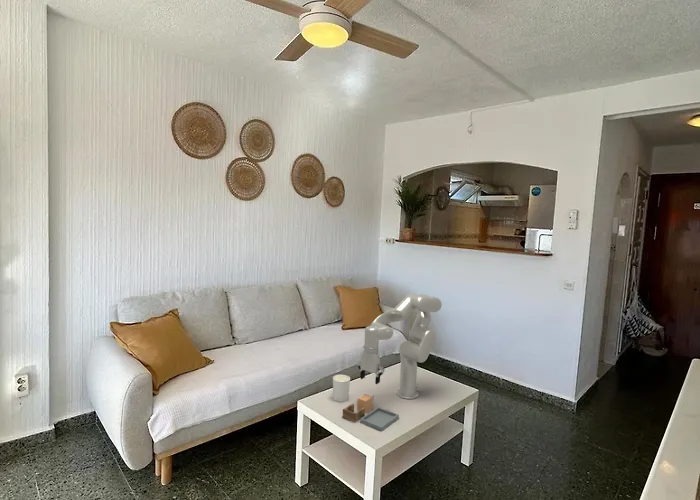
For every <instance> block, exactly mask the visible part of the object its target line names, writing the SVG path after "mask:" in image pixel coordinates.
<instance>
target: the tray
mask: <svg viewBox="0 0 700 500" xmlns="http://www.w3.org/2000/svg"><path fill="white" fill-rule="evenodd" d="M399 419H400V414H399V413H396V412H394V411H390V410H388V409H385V408H382V407H380V406H378V407H376V408H374V409H372V410H371V411H369V412H368V413H366V414H365V416H364V417H362V418H361V419H360V420H359V423H360V424H362V425H365V426H366V427H370V428H371V429H375V430H377V431H379V432H383V431H384V430H385V429H387V428H388V427H389V426H391V425H392V424H393V423H395V422H396V421H397V420H399Z"/></svg>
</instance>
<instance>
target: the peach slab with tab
mask: <svg viewBox="0 0 700 500" xmlns="http://www.w3.org/2000/svg"><path fill="white" fill-rule="evenodd" d="M374 398H375V395H369V394H366V393H364V394H363V395H360V396H359V397H357V401H356V402H357V404H356V405H357V406H356V410H357V411H358V410H360V409H362V408H365V415H367V414H368V413H370V412H371V411H373V406H374V405H373V403H374V401H375V399H374ZM357 411H356V412H357Z"/></svg>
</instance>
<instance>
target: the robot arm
mask: <svg viewBox="0 0 700 500" xmlns="http://www.w3.org/2000/svg"><path fill="white" fill-rule="evenodd" d="M442 304H443V303H442V300H441V299H440V298H439V297H435V296H431V295H428V294H423V293H421V294H414V293H408V294H407V295H405V296H404V298H403V299H401V300H400V302H399V303H398V304H397V305H395V307H394V308H393V309H389V310H388V311H386V312H383V313H381V314H380V315H378V316H377V317H376V318H375V319H374V320H373V321H372V322H371V324H370V325H368V326H366V327H365V328H364V342H363V343H364V345H362V348H363V350H362V353H361V358H360V360H358V361H357V362H356V363H357V368H358V369H359V372H360V373H359V375H360V380H363V379H364V378H365V377H366V372H368V373H371V374H375V378H374V379H375V381H374V382H375V384H376V385H378V384H380V382H381V376H382V375H384V373H385V371H386V369H385V368H384V367H383V366H382V365H381V358H380V357H381V356H380V353H379V341H388V340H390V339H391V338H393V336H394V330H393V328H392V327H391V326H389V324H390V323H397V322H402V321H404V320H406V318H408V317H409V315H410V314H411V313H413V312H414V310H416V313H417V315H416V318H415V320H414V322H413V324H412V326H411V328H410V330H409V333H408V334H409V338H410V339H412V340H413V341H411V340H404V341H402V342H401V344H400V346H399V355H400V368H399V369H400V370H399V374H400V375H399V388H398V389H397V390H396V395H397V396H398V397H399V398H401V399H404V400H414V399H417V398H418V397H419V392H418V391H417V388H418V387H419V384H418V383H417V378H418V377H417V376H418V375H417V373H418V364H417V363H420V364H421V363H422V364H423V363H424V362H425V361H427V359H428V357H429V355H430V354H431V352H432V349H433V347H434V344H435V342H436V339H437V338H436V337H437V334H436V332H435V330H434V329H433V328H430V324H431V321H432V316H431V313H438V312H439V311H440V310H441V308H442ZM414 341H416V342H414ZM418 342H419V343H418Z"/></svg>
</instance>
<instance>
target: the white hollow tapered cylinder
mask: <svg viewBox="0 0 700 500" xmlns="http://www.w3.org/2000/svg"><path fill="white" fill-rule="evenodd" d="M350 383H351V377H350V376H349V375H345V374H335V375H334V376H332V395H333V397H332V398H333V400H334V401H335V402H338V403H344V402H347V401H348V400H349V392H350Z"/></svg>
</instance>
